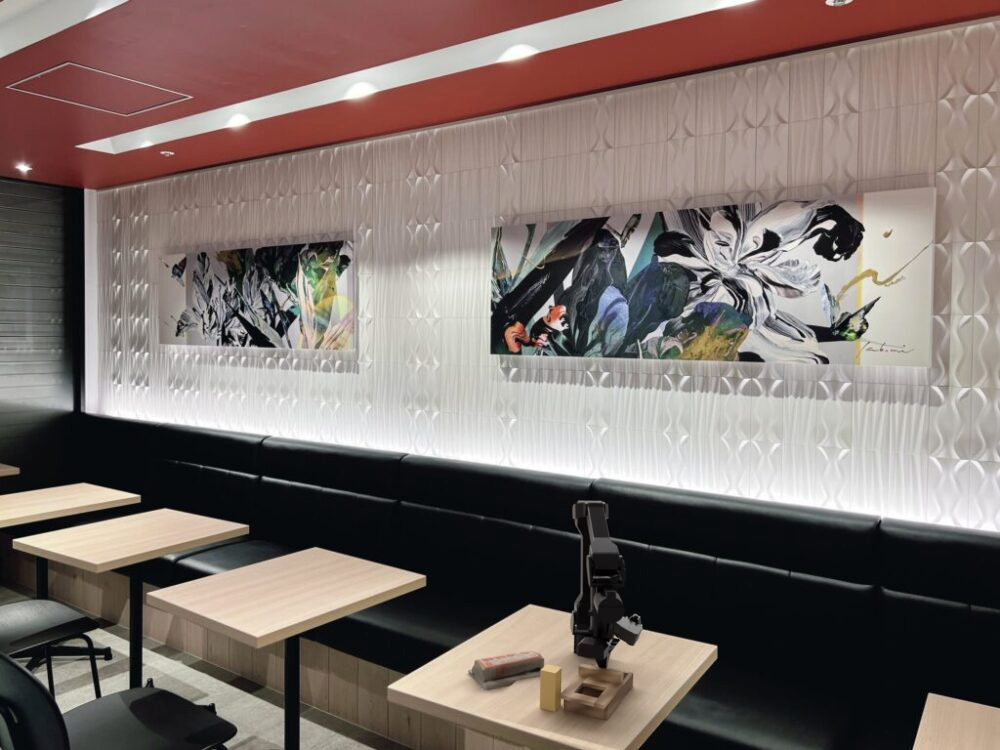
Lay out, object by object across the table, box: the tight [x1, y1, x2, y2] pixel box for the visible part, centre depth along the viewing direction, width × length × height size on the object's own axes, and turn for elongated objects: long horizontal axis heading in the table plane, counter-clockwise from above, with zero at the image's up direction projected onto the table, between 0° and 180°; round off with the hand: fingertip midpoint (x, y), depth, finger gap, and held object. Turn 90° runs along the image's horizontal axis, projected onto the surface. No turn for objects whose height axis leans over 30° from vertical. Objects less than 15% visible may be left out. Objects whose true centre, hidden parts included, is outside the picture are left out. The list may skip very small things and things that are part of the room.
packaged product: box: [468, 650, 545, 690], centre depth 189 cm, size 18×5×10 cm
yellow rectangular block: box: [539, 663, 563, 712], centre depth 171 cm, size 4×4×9 cm
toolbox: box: [562, 663, 634, 721], centre depth 176 cm, size 10×18×4 cm, turn 153°
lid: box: [560, 663, 624, 709], centre depth 172 cm, size 10×13×3 cm
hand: (603, 672), depth 178 cm, fingers closed
